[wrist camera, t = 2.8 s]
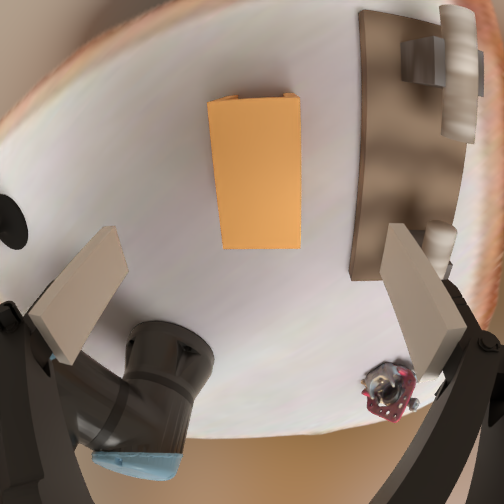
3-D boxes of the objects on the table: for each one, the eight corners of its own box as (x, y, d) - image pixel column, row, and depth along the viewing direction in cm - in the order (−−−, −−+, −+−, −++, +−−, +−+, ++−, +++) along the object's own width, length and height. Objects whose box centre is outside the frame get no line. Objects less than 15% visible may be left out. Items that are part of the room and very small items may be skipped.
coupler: (295, 204, 32) (300, 248, 25) (237, 205, 33) (223, 249, 25) (293, 93, 26) (299, 97, 18) (228, 95, 27) (206, 102, 19)
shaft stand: (431, 269, 35) (462, 324, 26) (348, 271, 36) (365, 333, 28) (459, 36, 19) (519, 32, 10) (358, 13, 21) (394, -14, 12)
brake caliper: (392, 356, 42) (425, 412, 36) (408, 345, 49) (436, 392, 43) (344, 388, 47) (373, 439, 41) (367, 373, 54) (392, 417, 48)
